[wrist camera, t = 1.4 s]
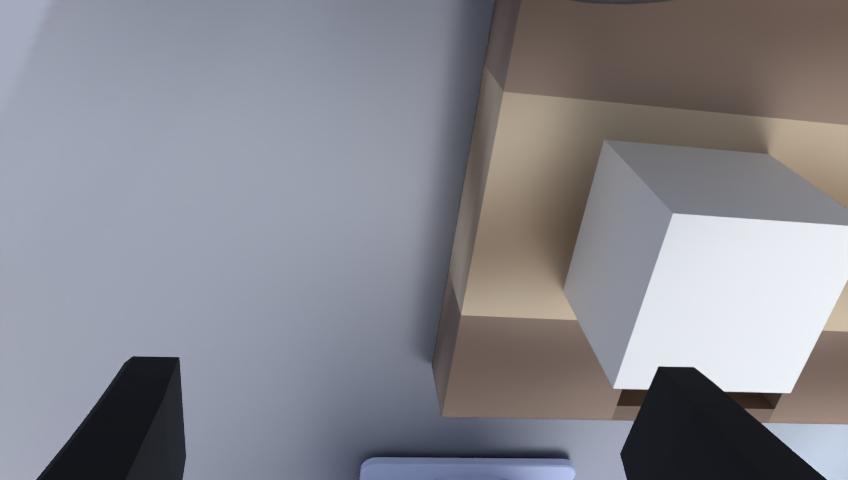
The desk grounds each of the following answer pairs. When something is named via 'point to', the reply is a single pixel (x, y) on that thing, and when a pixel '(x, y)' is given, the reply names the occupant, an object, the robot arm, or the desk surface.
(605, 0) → the alarm clock
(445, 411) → the trap board
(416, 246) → the desk surface
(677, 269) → the white block
